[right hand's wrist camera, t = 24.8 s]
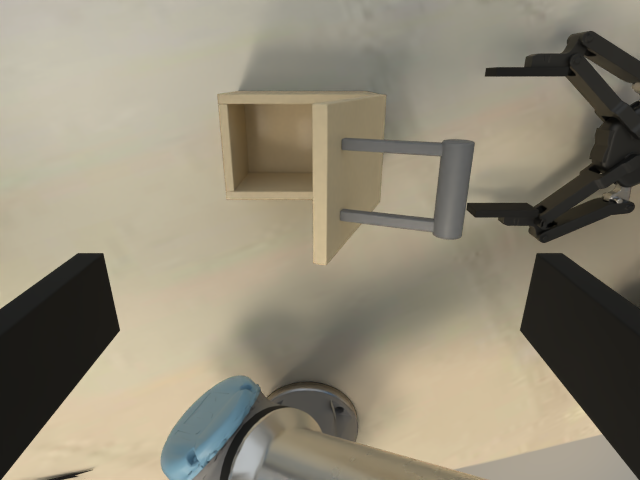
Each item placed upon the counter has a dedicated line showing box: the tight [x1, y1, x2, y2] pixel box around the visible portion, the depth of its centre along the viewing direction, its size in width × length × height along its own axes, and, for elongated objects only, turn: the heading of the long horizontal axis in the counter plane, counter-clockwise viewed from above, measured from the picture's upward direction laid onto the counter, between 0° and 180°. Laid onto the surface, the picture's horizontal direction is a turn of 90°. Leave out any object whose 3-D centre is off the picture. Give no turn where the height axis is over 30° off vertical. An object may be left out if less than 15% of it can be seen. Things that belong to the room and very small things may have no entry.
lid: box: [312, 94, 475, 265], centre depth 29 cm, size 15×10×9 cm
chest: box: [217, 91, 380, 200], centre depth 42 cm, size 15×10×10 cm
